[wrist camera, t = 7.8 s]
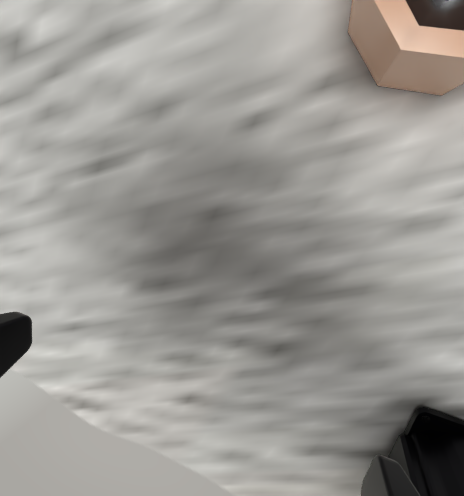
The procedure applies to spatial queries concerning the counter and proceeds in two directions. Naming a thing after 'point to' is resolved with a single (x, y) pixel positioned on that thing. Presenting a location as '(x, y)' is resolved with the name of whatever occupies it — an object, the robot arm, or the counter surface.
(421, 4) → the plunger
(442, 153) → the counter surface
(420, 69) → the octagonal copper jug
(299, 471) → the counter surface
